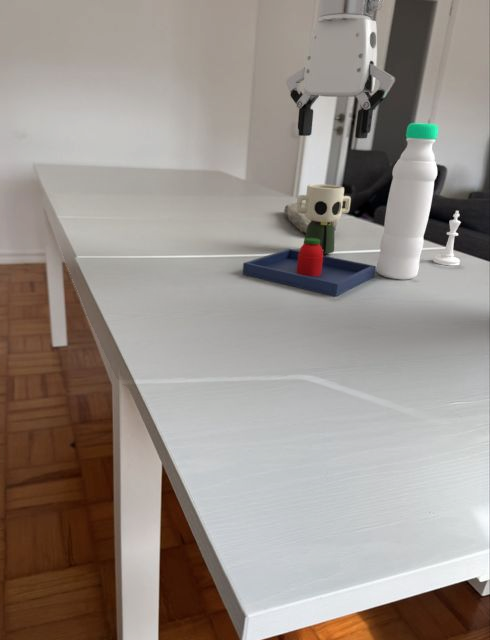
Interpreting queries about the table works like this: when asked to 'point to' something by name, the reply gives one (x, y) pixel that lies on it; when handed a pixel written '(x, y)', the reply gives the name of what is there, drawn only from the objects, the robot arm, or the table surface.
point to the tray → (331, 281)
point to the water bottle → (409, 204)
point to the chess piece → (450, 245)
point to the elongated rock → (299, 217)
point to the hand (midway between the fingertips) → (332, 136)
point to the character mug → (323, 212)
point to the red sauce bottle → (310, 258)
